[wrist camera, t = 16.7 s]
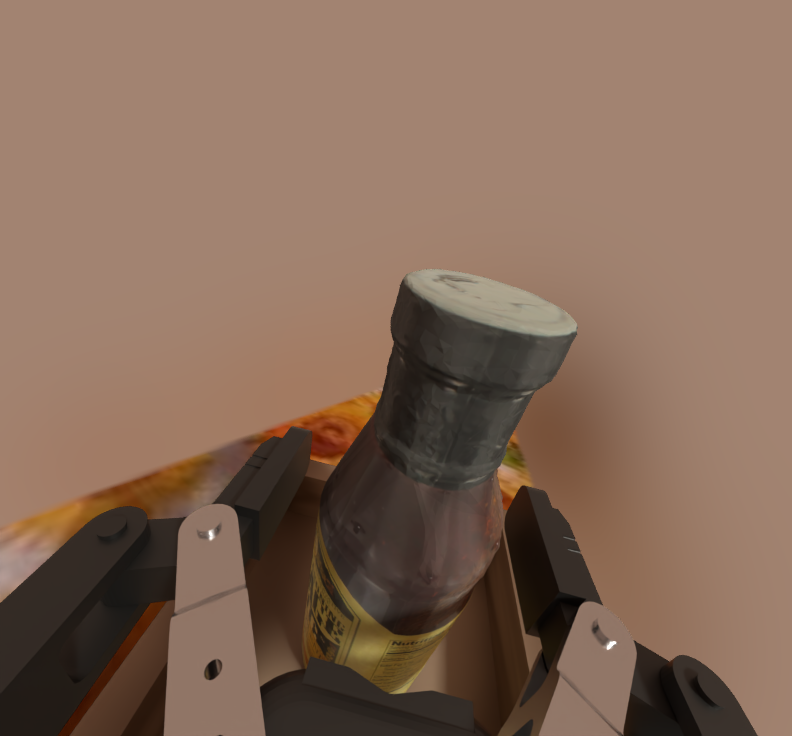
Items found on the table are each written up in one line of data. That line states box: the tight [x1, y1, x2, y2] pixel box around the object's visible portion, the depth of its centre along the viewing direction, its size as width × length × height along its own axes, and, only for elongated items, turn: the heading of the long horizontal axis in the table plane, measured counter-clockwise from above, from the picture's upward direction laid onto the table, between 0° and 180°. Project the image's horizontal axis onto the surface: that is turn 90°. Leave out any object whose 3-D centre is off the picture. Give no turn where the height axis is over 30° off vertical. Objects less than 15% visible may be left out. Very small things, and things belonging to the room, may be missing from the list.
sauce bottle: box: [302, 269, 578, 694], centre depth 12 cm, size 6×6×20 cm
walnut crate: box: [70, 460, 542, 736], centre depth 16 cm, size 18×16×5 cm
